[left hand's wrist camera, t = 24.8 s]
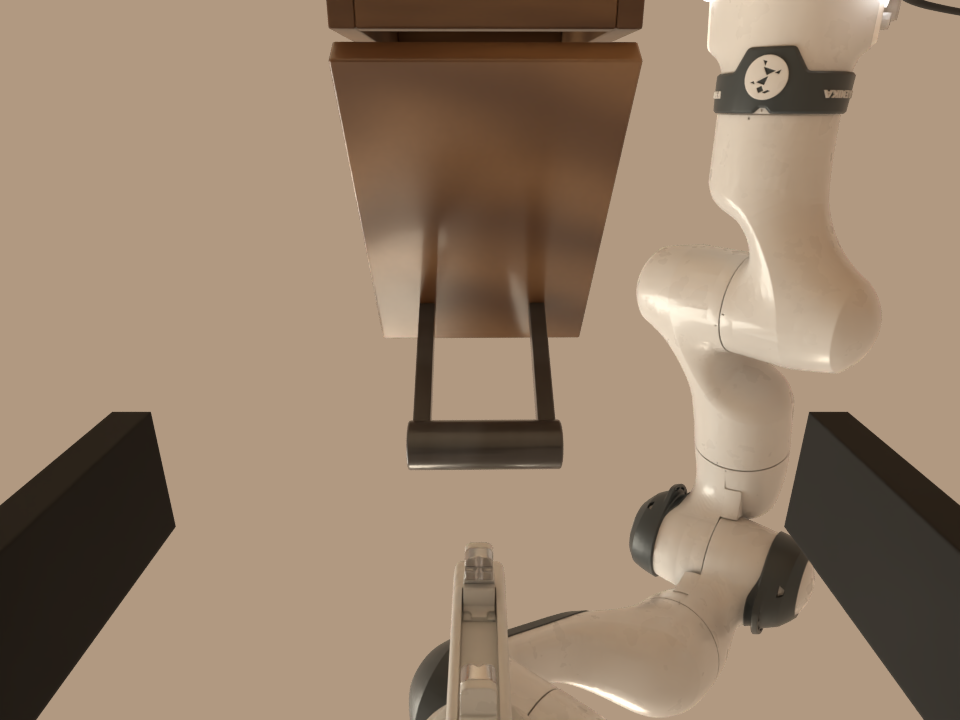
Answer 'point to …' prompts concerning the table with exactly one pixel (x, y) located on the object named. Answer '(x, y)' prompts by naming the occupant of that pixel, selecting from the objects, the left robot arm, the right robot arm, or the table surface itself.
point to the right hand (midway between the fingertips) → (478, 604)
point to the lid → (483, 208)
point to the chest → (485, 20)
